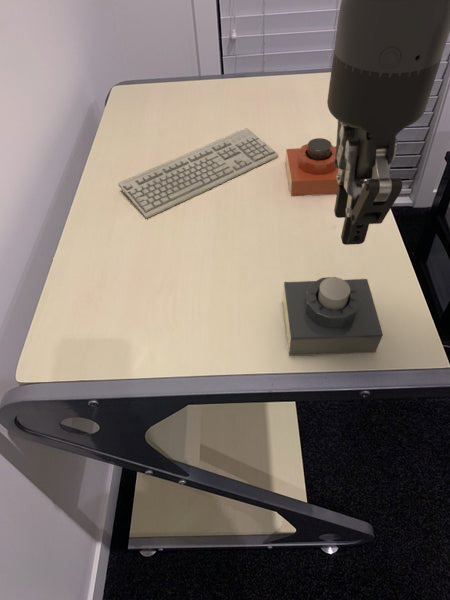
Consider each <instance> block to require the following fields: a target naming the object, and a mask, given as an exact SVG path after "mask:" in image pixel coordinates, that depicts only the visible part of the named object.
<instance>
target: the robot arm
mask: <svg viewBox="0 0 450 600" xmlns="http://www.w3.org/2000/svg"><path fill="white" fill-rule="evenodd" d="M338 11H339V12H338V17H337V24H336V31H335V32H336V33H335V39H334V40H335V41H334V46H333V54H332V55H333V56H332V63H331V70H330V77H329V78H330V79H329V84H328V85H329V86H328V93H327V102H326V103H327V109H328V111H329V112H330V114H331V116H333V117H334V119H336V120H337V129H336V130H337V131H336V143H335V146H336V157H335V161H334V164H335V167H336V168H339V170H338V174H337V177H336V179H337V182H338V184H341V185H339V186H338V192H337V194H336V196H335V197H336V198H335V204H334V209H333V212H334V216H335V217H336V218H337V219H342V218H343V219H344V220H343V225H342V231H341V235H340V240H341V243H342V244H343V245H344V246H348V245H361V244H363V243H365V241H366V237H367V235H368V230H369V226H370V225H380V224H382V223H383V222H384V221H385V218H386V217H387V215H388V213H389V212H390V211H391V209H392V207H393V206H394V204H395V202H396V201H397V199H398V197H399V196H400V194H401V193H402V188H403V181H402V178H401V177H391V176H390V175H391V174H390V171H391V166H392V163H393V162H394V161H395V160H396V156H397V151H398V139H397V135H398V134H400V132H402V131H403V130H405V129H406V128H407V127H409V126H412V125H413V124H415V123H416V122H418V121H419V120H420V119H421V118H422V117H423V116H424V114H425V112H426V109H427V106H428V102H429V100H430V97H431V93H432V90H433V87H434V85H435V80H436V77H437V74H438V71H439V68H440V65H441V62H442V59H443V54H444V52H445V48H446V45H447V41H448V38H449V36H450V0H341V1H340V5H339V9H338Z"/></svg>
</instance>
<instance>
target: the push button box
mask: <svg viewBox="0 0 450 600" xmlns="http://www.w3.org/2000/svg"><path fill="white" fill-rule="evenodd" d="M331 277H332V276H329V277H320V278H319V279H317V280H307V281H306V280H305V281H284V282H283V289H282V290H283V292H282V308H283V316H284V326H285V334H286V342H287V343H286V344H287V352H288V356H306V355H307V356H309V355H312V356H313V355H336V354H337V355H338V354H370V353H372V354H373V353H377V351H378V349H379V346H380V343H381V341H382V338H383V336H384V333H383V330H382V325H381V322H380V318H379V315H378V312H377V308H376V305H375V302H374V298H373V294H372V292H371V291H372V290H371V288H370V283H369V280H368V278H358V279H357V278H356V279H355V278H354V279H343V280H344V281H346V282H347V283H348V285H349V286H350V294H349V298H348V302H347V304H346V306H345V307H344V308H342V309H340V310H329V309H326V308H324V307H323V306H322V305H321V304H320V303H319V301H318V293H319V288H320V284H321V282H322V281H323V280H325V279H327V278H331ZM335 277H336V276H335ZM336 278H338V277H336Z"/></svg>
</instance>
